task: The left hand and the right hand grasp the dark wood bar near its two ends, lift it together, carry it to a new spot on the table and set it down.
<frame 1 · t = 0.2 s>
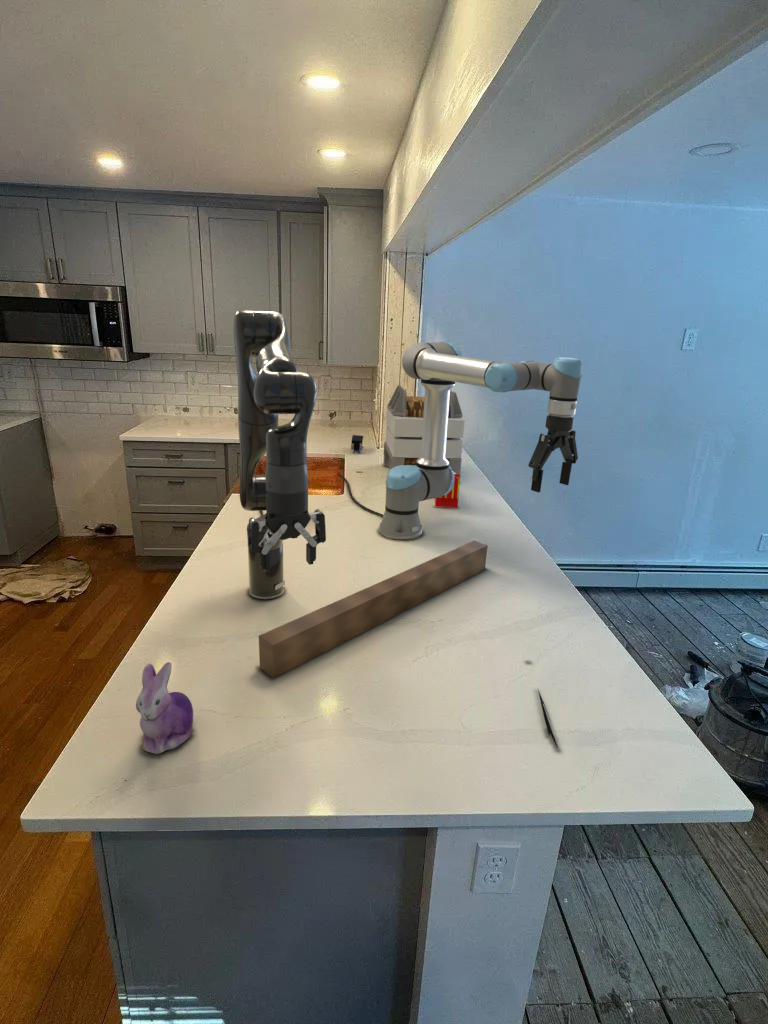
left hand: (288, 566, 108), 28 cm above the counter, tool pointing down, fingers open, 8 cm apart
right hand: (550, 487, 166), 27 cm above the counter, tool pointing down, fingers open, 13 cm apart
fossil: (289, 517, 211), on the counter
bar: (392, 610, 149), on the counter
toy: (441, 496, 242), on the counter
figurine: (168, 737, 103), on the counter
white slatted box: (419, 473, 275), on the counter
feather: (540, 702, 116), on the counter
figurine character: (357, 450, 312), on the counter
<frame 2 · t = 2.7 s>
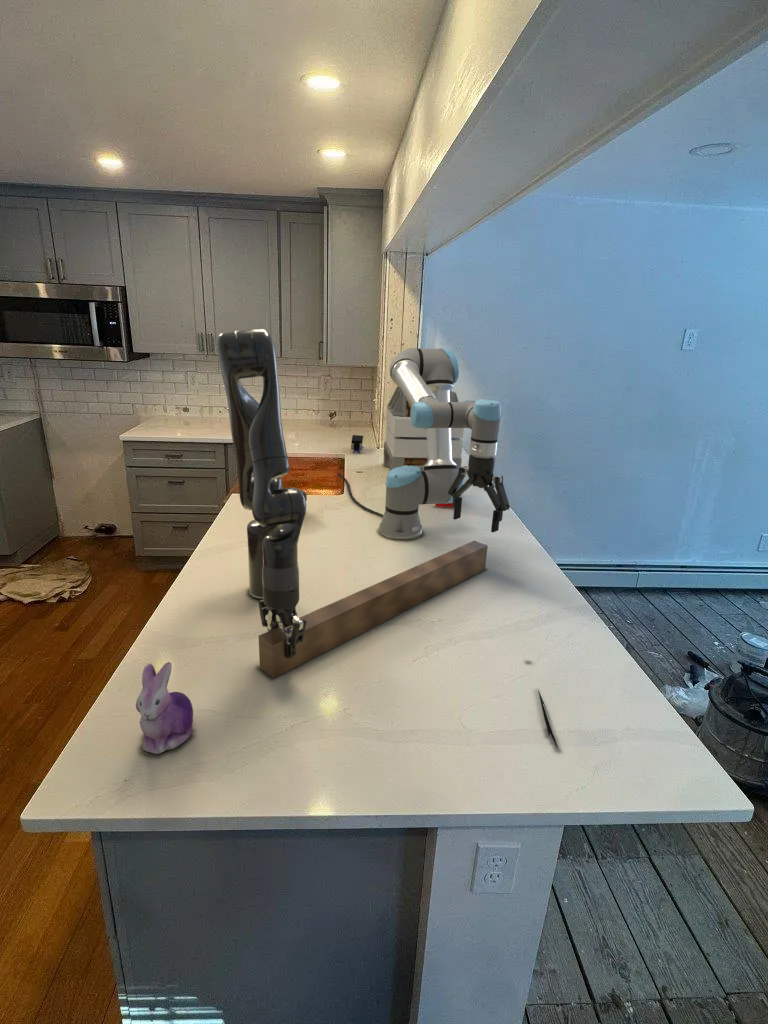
left hand: (282, 651, 123), 4 cm above the counter, tool pointing down, fingers closed on bar, 5 cm apart
right hand: (475, 524, 169), 15 cm above the counter, tool pointing down, fingers open, 13 cm apart
bar: (392, 610, 149), on the counter, touching left hand
everything else where it was.
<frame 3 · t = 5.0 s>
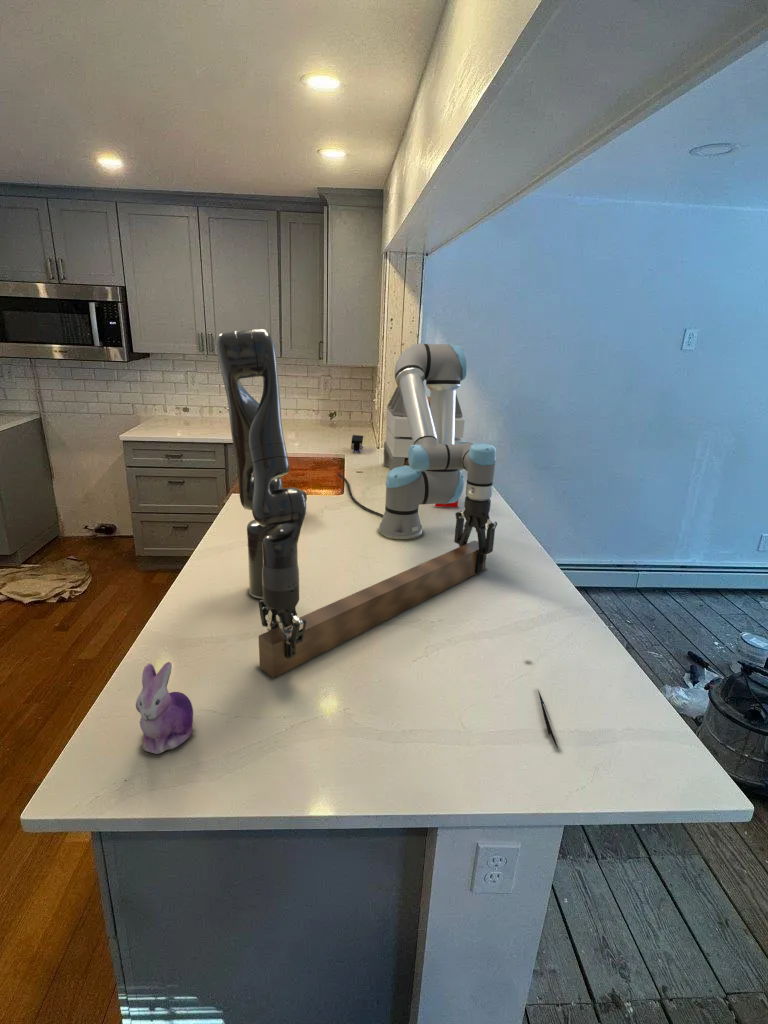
left hand: (282, 651, 123), 4 cm above the counter, tool pointing down, fingers closed on bar, 5 cm apart
right hand: (470, 568, 174), 1 cm above the counter, tool pointing down, fingers closed on bar, 5 cm apart
bar: (392, 609, 149), on the counter, touching right hand, left hand
everything else where it was.
when the right hand's fingers open (2 cm above the counter, at t = 9.3 s): bar stays where it is, on the counter.
when the left hand's fingers open (4 cm above the counter, at t = 9.5 s): bar stays where it is, on the counter.
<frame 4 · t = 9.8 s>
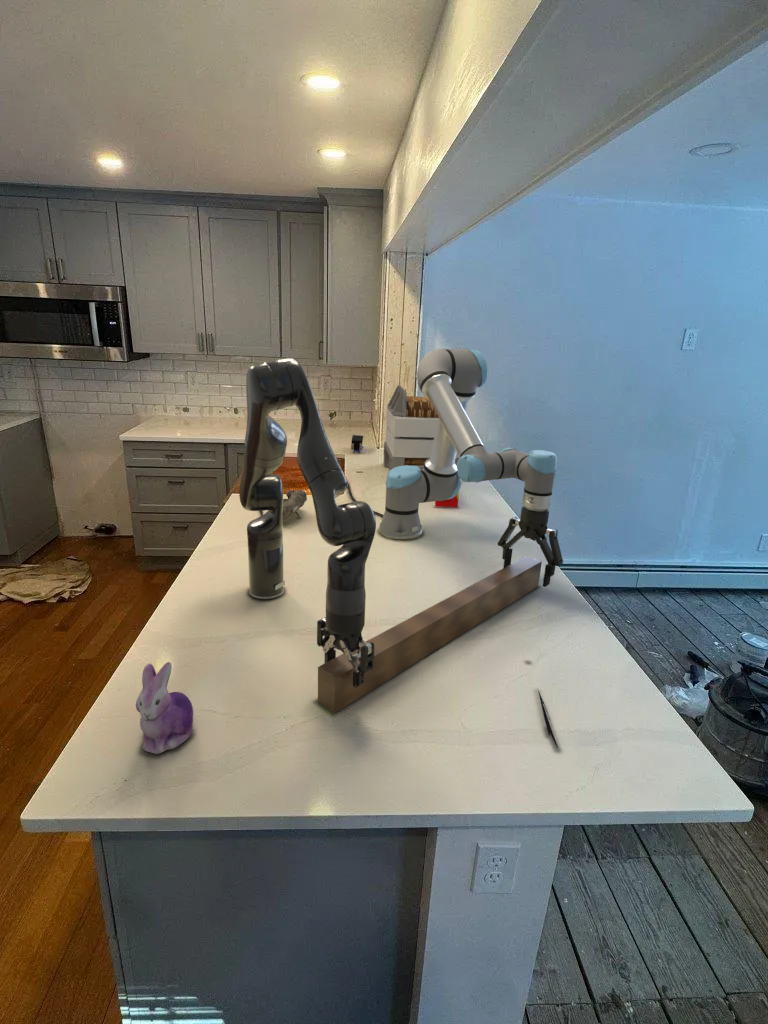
left hand: (343, 676, 113), 5 cm above the counter, tool pointing down, fingers open, 7 cm apart
right hand: (525, 577, 163), 3 cm above the counter, tool pointing down, fingers open, 12 cm apart
bar: (448, 633, 140), on the counter
everything else where it was.
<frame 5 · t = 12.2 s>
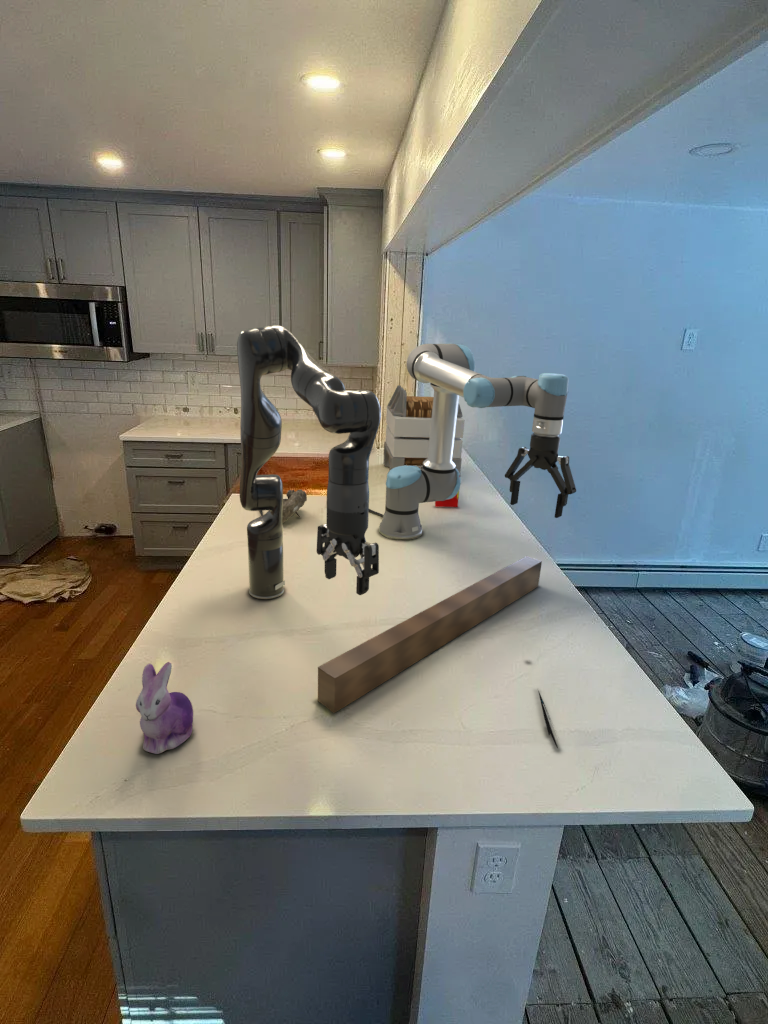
left hand: (346, 585, 106), 25 cm above the counter, tool pointing down, fingers open, 8 cm apart
right hand: (535, 510, 156), 24 cm above the counter, tool pointing down, fingers open, 13 cm apart
nothing on the counter moved.
at the end: bar inside the target area (0.3 cm from its centre), on the counter; bar tilted 0°; bar never tilted more than 1° during the clip; both hands held the bar at the same time; the left hand is holding nothing; the right hand is holding nothing; bar at rest at the end (0.0 cm/s) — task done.
